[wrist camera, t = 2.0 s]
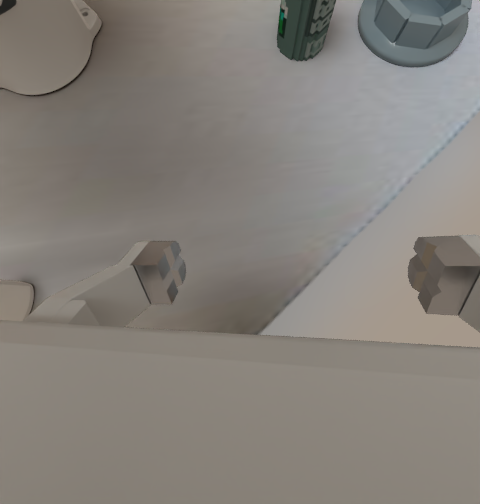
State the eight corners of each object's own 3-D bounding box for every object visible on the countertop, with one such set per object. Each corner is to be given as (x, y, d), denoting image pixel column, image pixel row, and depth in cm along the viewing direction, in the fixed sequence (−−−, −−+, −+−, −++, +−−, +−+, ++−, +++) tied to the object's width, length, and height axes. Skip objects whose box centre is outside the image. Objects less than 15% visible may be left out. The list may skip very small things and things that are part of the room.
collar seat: (337, 13, 37) (347, -22, 33) (417, -33, 38) (436, -71, 34) (401, 84, 34) (420, 57, 31) (484, 34, 35) (513, 1, 32)
